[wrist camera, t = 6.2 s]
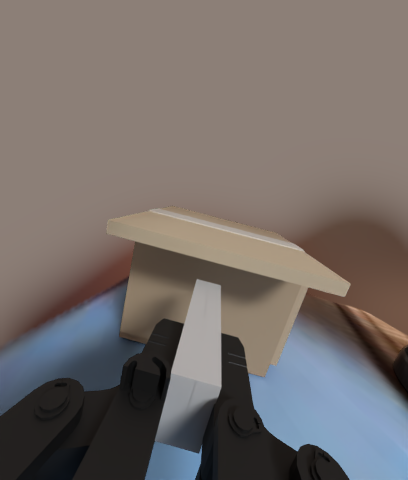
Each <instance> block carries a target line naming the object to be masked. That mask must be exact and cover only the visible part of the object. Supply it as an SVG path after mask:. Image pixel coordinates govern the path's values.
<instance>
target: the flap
mask: <svg viewBox="0 0 408 480" xmlns="http://www.w3.org/2000/svg"><path fill="white" fill-rule="evenodd" d="M106 234H110V235H114V236H118V237H121V238H125V239H129V240H132V241H136V242H140V243H144V244H147V245H151V246H155V247H159V248H162V249H166V250H170V251H174V252H177V253H181V254H185V255H189V256H192V257H196V258H200V259H204V260H207V261H211V262H215V263H219V264H223V265H226V266H230V267H234V268H238V269H241V270H245V271H249V272H253V273H256V274H260V275H264V276H268V277H271V278H275V279H279V280H283V281H286V282H290V283H294V284H298V285H301V286H305V287H309V288H313V289H317V290H321V291H324V292H328V293H332V294H335V295H339V296H343V297H345V295H346V293H347V291H348V289H349V287H350V285H351V284H350V283H349V282H347V281H346V280H344V279H343V278H341V277H340V276H338V275H337V274H336V273H334V272H333V271H331V270H330V269H328V268H327V267H325V266H324V265H322V264H321V263H319V262H318V261H317V260H315V259H314V258H312V257H311V256H309V255H308V254H306V253H305V252H304V250H302V249H301V248H300V247H298V246H296V245H295V244H293V243H290V242H289V241H287V240H286V239H284V238H283V237H282V236H280V235H279V234H277V233H275V232H271V231H268V230H263V229H259V228H256V227H252V226H248V225H244V224H240V223H237V222H232V221H229V220H225V219H221V218H217V217H214V216H210V215H205V214H202V213H198V212H194V211H190V210H187V209H183V208H179V207H175V206H170V207H165V208H161V209H159V208H156V209H151V210H149V211H147V212H142V213H137V214H133V215H128V216H124V217H119V218H114V219H110V220H108V224H107V233H106Z"/></svg>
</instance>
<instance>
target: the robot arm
mask: <svg viewBox="0 0 408 480" xmlns="http://www.w3.org/2000/svg"><path fill="white" fill-rule="evenodd" d="M245 358H246V356H245V350H244V346H243V345H242V343H241V341H240V339H239V338H238V337H235V336H231V335H227V334H224V333H221V285H217V284H214V283H210V282H206V281H202V280H199V279H197V280H196V284H195V287H194V291H193V295H192V298H191V302H190V305H189V309H188V313H187V316H186V320H185V323H180V322H176V321H173V320H169V319H165V318H163V319H162V320H161V321H159V322H158V323H157V324H156V325H155V327H154V329H153V331H152V334H151V335H150V337H149V339H148V342H147V343H146V345H145V347H144V349H143V351H142V353H139V354H136V355H135V356H133V357H131V358H129V359H128V361H127V362H126V363H125V364H124V365H123V370H122V376H121V381H120V385H118V386H116V387H114V388H111V389H107V390H100V391H85V392H84V389H83V386H82V385H81V384H80V383H79V382H78V381H77V380H74V379H71V378H59V379H55V380H52V381H49V382H46V383H45V384H43V385H42V386H40V387H38V388H37V389H35V390H34V391H32V392H31V393H30V394H28V395H27V396H26V397H25V398H23V399H22V400H21V401H20V402H18V403H17V404H16V405H14V406H13V407H12V408H11V409H9V410H8V411H7V412H5V413H4V414H3V415H2V416H0V480H145V476H146V472H147V468H148V464H149V461H150V457H151V453H152V449H153V445H154V442H155V441H157V442H160V443H164V444H167V445H171V446H174V447H178V448H181V449H185V450H188V451H192V452H195V453H199V452H200V449H201V446H202V455H201V464H200V467H199V470H198V473H197V476H196V478H195V480H349V478H348V476H347V475H346V474H345V472H344V471H343V469H342V468H341V467H340V465H339V464H338V463H337V462H336V461H335V460H334V459H333V458H332V457H331V456H330V455H329V454H328V453H327V452H325V451H324V450H322V449H321V448H319V447H318V446H315V445H310V444H306V445H303V446H301V447H300V449H299V451H298V452H297V451H296V450H294V449H293V448H291V447H289V446H288V445H286V444H285V443H283V442H282V441H280V440H279V439H277V438H276V437H275V436H273V435H272V434H271V433H270V432H269V431H268V430H267V429H266V428H265V427H264V425H263V422H262V419H261V418H260V416H259V415H258V413H257V412H256V410H255V409H254V406H253V401H252V395H251V388H250V382H249V376H248V369H247V363H246V359H245ZM393 368H394V371H395V373H396V375H397V377H398V379H399V380H400V382H401V383H402V385H403V386H404V387H405V388H406V390H407V391H408V345H406V346H405V347H403V348H402V349H401V351H400V353H399V354H398V356H397V358H396V359H395V361H394V363H393Z"/></svg>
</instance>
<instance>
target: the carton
mask: <svg viewBox="0 0 408 480" xmlns="http://www.w3.org/2000/svg"><path fill="white" fill-rule="evenodd" d="M197 279H199V280H202V281H206V282H210V283H214V284H217V285H221V333H224V334H227V335H231V336H235V337H238V338H239V339H240V341H241V343H242V345H243V346H244V350H245V356H246V358H245V359H246V363H247V369H248V373H251V374H254V375H258V376H261V377H265V375H266V373H267V370H268V368H269V365H270V364H272V365H275V366H276V365H277V363H278V360H279V358H280V355H281V353H282V351H283V348H284V346H285V343H286V341H287V338H288V336H289V333H290V331H291V329H292V326H293V324H294V321H295V319H296V316H297V314H298V311H299V309H300V307H301V304H302V302H303V299H304V297H305V294H306V292H307V289H308V287H305V286H301V285H298V284H294V283H290V282H286V281H283V280H279V279H275V278H271V277H268V276H264V275H260V274H256V273H253V272H249V271H245V270H241V269H238V268H234V267H230V266H226V265H223V264H219V263H215V262H211V261H207V260H204V259H200V258H196V257H192V256H189V255H185V254H181V253H177V252H174V251H170V250H166V249H162V248H159V247H155V246H151V245H147V244H144V243H140V242H136V241H135V246H134V252H133V258H132V264H131V269H130V275H129V281H128V287H127V293H126V299H125V304H124V310H123V316H122V322H121V328H120V334H119V337H122V338H126V339H129V340H133V341H137V342H140V343H144V344H146V343H147V342H148V339H149V337H150V335H151V334H152V331H153V329H154V327H155V325H156V324H157V323H158V322H159V321H161V320H162V319H163V318H165V319H169V320H173V321H176V322H180V323H185V320H186V316H187V313H188V309H189V305H190V302H191V298H192V295H193V291H194V287H195V284H196V280H197Z"/></svg>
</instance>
